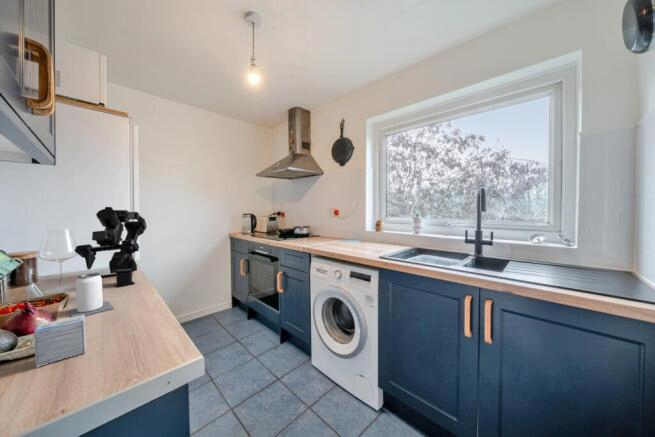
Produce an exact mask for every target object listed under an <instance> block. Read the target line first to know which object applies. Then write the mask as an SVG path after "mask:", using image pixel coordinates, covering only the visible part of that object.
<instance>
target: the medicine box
mask: <svg viewBox="0 0 655 437" xmlns="http://www.w3.org/2000/svg"><path fill="white" fill-rule="evenodd" d="M86 332H87V331H86V316H85V315H80V316H76V317H67V318H62V319H58V320H54V321H50V322H45V323H44V322H43V323H41V324H38V325H37V326H36V328H35V330H34V331H33V337H34V352H35V353H34V354H35V367H36V366H38V365H42V364H46V363H51V362H54V363H56V362H55V361H58V360H61V359H64V358H67V359H69V358H68V357H71V358H73V357H72V356H74V357H76V355H77V356H80V354H81V355H83V353H84V354H86V352H87V336H86V335H87V334H86ZM64 360H65V359H64ZM61 361H62V360H61ZM58 362H59V361H58ZM51 364H52V363H51Z"/></svg>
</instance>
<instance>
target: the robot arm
mask: <svg viewBox="0 0 655 437" xmlns="http://www.w3.org/2000/svg"><path fill="white" fill-rule="evenodd" d="M95 216H96V218H97V219H98V221H99V222H100V224H101V226H102V227H104V230H96V231H92V234H91V240H92V241H95V242H96V245H99V246H93V245H91V244H90V243H89V244H81V245H76V247H75V249H74V252H75V253H76V254H77V255H78V256H80V257H81V258H83V259H84V260H85V266H86V269H87V270H91V268H92V267H93V265H94V262H95V260H96V258H97V257H96V255H97V252H98V253H99V252H110V251H111V252H112V251H115V252H113V255H112V257H111V260H109V261H108V262H109V263H108V267H109V271H110V272H109V273H110V274H115V280H116V281H115V283H114V284H113V285H114V286H115V287H116V288H120V287H124V286H126V287H127V286H130V285H135V284H136V283H135V282H134V281H133V273H134V272H135V271H136V272H137V271H138V264H137V262H136V261H135V258H134V256H133V254H134V253H135V252H139V250H140V245H139V244H138V238H139V236H141V235H143V234H144V233H145V230H146V229H147V223H146V219H145V218H144V217H142V216H141V215H140V213H139V212H138V211H129V210H127V209H113V207H112V206H105V208H103V209H100V210H98V211H97V212H96V215H95ZM134 220H135V221H134ZM124 228H125V230H124ZM124 231H126V233H127V234H126V235H125V238H124V240H123V238H122V235H123V232H124ZM120 242H121V243H120Z"/></svg>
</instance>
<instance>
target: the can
mask: <svg viewBox="0 0 655 437" xmlns="http://www.w3.org/2000/svg"><path fill="white" fill-rule="evenodd" d="M75 298H76V299H75V300H76V308H77V311H78V312H80V313H84V312H90V311H94V310H97V309H99V308H101V307H102V306H103V302H104V299H103V279H102V276H101V273H94V272H93V273H87V274H81V275H79V276H77V279H76V281H75Z"/></svg>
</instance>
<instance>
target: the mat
mask: <svg viewBox="0 0 655 437" xmlns="http://www.w3.org/2000/svg"><path fill="white" fill-rule="evenodd" d="M114 309H115V308H114V306H113V305H112V304H111V302H109V301H103V306H102V307H101V308H99V309H97V310H94V311H90V312H84V313H80V312H78V311H77V307H76V308H72V309H69V310H68V311H69V314H70V316H71V317H76V316H80V315H85V317H88V316H92V315H96V314H100V313H103V312H108V311H112V310H114ZM71 317H70V318H71Z"/></svg>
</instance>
